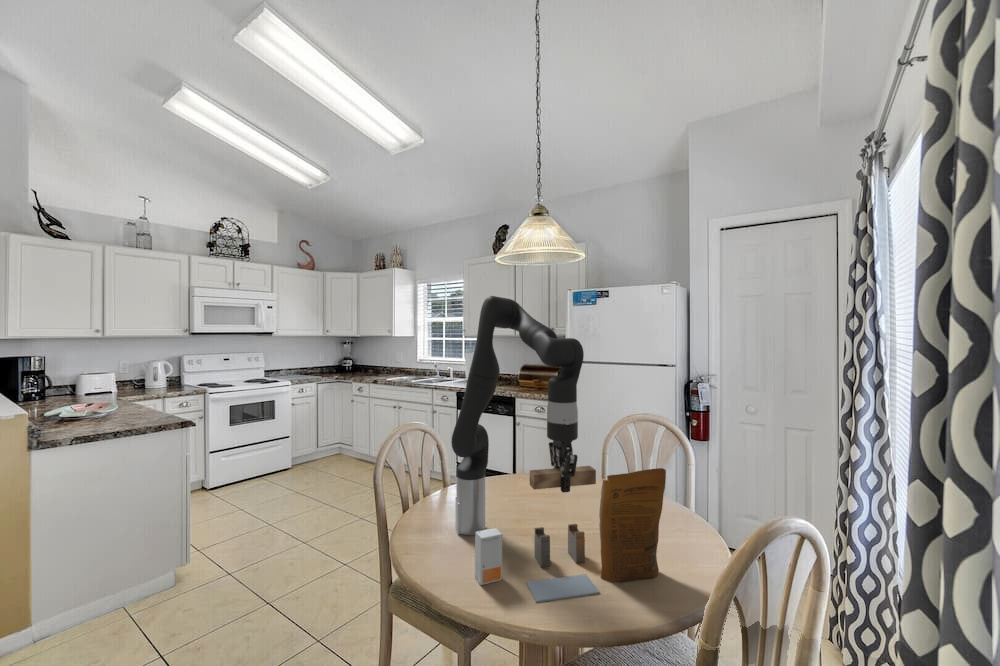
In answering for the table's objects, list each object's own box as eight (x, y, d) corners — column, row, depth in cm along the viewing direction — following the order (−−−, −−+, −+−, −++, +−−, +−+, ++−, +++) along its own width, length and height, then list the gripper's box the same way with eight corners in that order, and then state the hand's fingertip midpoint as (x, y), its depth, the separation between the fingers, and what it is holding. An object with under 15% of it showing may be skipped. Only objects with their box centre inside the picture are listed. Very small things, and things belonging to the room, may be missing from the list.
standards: (541, 568, 118) (541, 537, 118) (534, 556, 124) (534, 527, 124) (584, 562, 121) (584, 532, 121) (576, 551, 127) (576, 523, 126)
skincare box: (480, 586, 110) (480, 538, 109) (474, 577, 113) (474, 531, 113) (502, 580, 112) (502, 533, 112) (496, 572, 116) (496, 527, 116)
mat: (536, 602, 103) (536, 600, 103) (526, 583, 111) (526, 581, 111) (599, 593, 107) (599, 591, 107) (586, 575, 114) (586, 574, 114)
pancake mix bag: (673, 580, 112) (673, 470, 112) (602, 588, 109) (603, 475, 108) (658, 566, 119) (659, 463, 119) (592, 574, 115) (592, 467, 115)
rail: (533, 489, 105) (533, 474, 105) (529, 484, 109) (529, 470, 109) (595, 484, 109) (595, 470, 109) (589, 479, 112) (589, 465, 112)
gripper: (538, 414, 115) (539, 480, 115) (557, 426, 101) (558, 501, 101) (566, 413, 116) (566, 478, 116) (588, 424, 102) (588, 498, 103)
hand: (562, 488), depth 109 cm, fingers closed on rail, 3 cm apart
